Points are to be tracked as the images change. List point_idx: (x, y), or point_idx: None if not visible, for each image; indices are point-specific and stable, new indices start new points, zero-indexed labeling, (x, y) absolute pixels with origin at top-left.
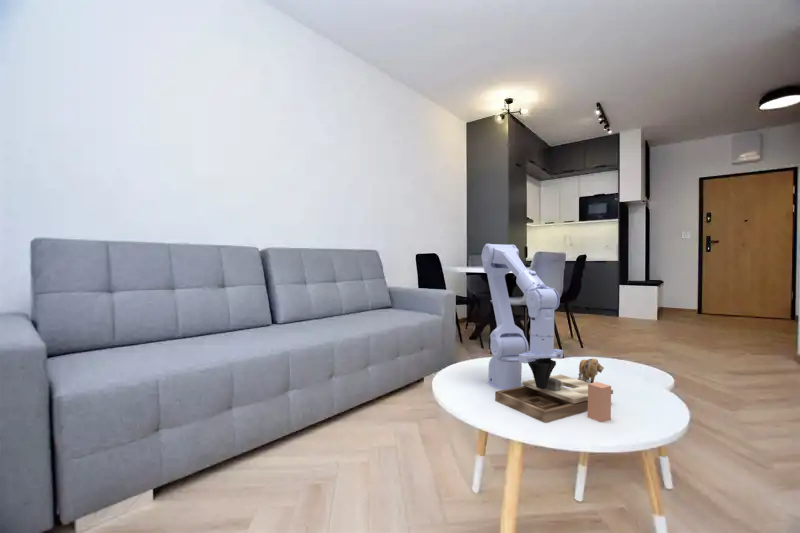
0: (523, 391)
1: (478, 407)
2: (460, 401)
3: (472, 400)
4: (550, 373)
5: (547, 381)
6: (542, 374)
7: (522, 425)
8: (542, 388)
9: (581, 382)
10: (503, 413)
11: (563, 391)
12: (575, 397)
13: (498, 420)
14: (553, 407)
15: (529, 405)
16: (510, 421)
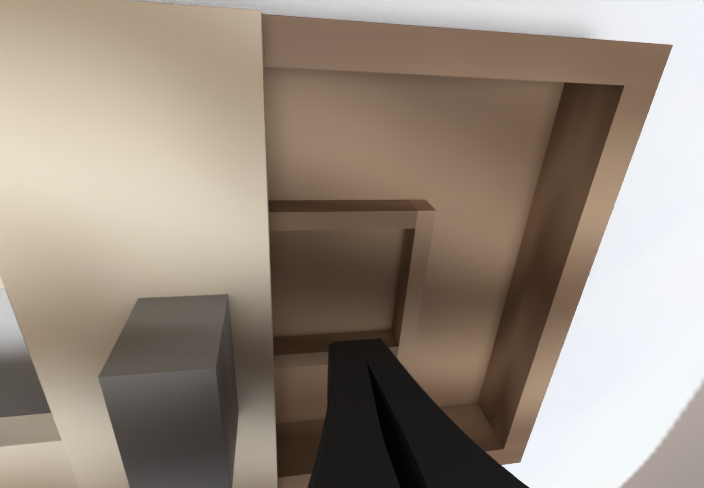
0: (293, 449)
1: (600, 387)
2: (590, 455)
3: (541, 452)
4: (322, 482)
5: (347, 388)
6: (501, 467)
7: (680, 125)
8: (384, 344)
9: None
10: (587, 293)
11: (131, 266)
12: (169, 51)
13: (692, 237)
14: (301, 203)
15: (609, 214)
16: (666, 200)
